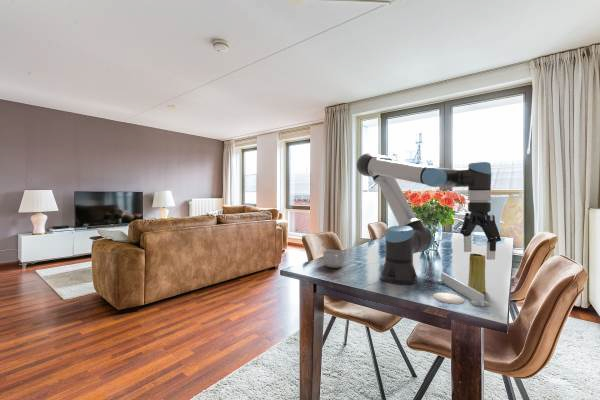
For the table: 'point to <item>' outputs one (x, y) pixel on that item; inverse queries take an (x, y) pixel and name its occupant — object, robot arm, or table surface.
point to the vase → (477, 272)
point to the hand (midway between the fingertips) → (478, 255)
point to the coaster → (448, 298)
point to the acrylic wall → (464, 290)
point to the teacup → (333, 258)
